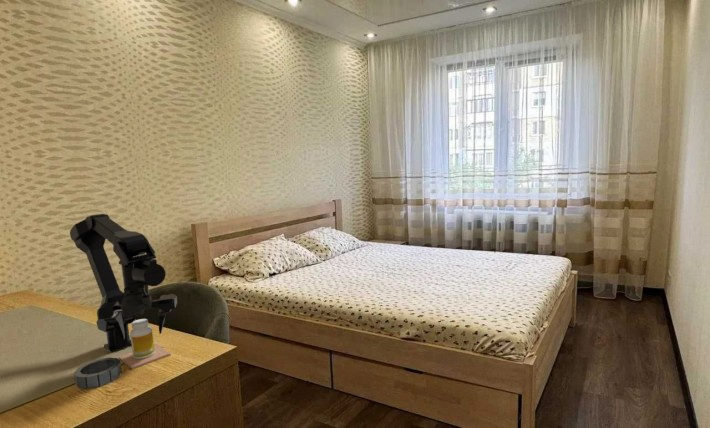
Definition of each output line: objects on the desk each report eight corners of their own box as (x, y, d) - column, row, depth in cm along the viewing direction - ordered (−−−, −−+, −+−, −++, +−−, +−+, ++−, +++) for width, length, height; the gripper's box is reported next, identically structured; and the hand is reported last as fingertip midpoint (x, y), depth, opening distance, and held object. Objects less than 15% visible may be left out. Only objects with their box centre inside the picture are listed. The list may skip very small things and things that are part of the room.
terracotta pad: (118, 358, 113) (118, 356, 113) (156, 345, 120) (155, 343, 120) (132, 369, 106) (131, 367, 106) (170, 354, 114) (170, 353, 114)
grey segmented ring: (71, 380, 102) (70, 368, 102) (114, 364, 109) (112, 354, 109) (82, 393, 96) (80, 381, 95) (126, 376, 103) (125, 365, 102)
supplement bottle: (158, 353, 113) (153, 320, 112) (137, 361, 109) (133, 326, 108) (150, 348, 117) (146, 316, 116) (130, 356, 113) (125, 322, 112)
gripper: (86, 294, 100) (94, 354, 102) (169, 284, 106) (175, 341, 108) (100, 282, 111) (107, 337, 113) (174, 274, 116) (180, 326, 118)
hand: (142, 336), depth 113 cm, fingers open, 9 cm apart
